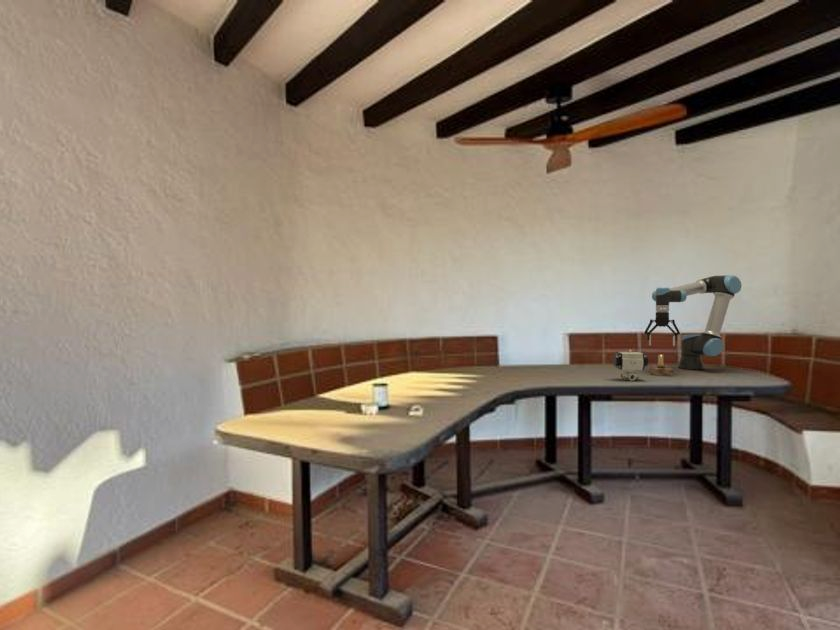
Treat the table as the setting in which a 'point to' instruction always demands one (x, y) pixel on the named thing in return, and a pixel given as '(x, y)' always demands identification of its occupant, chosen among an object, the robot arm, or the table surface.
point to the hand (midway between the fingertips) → (661, 345)
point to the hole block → (661, 370)
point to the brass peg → (660, 361)
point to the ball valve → (630, 363)
